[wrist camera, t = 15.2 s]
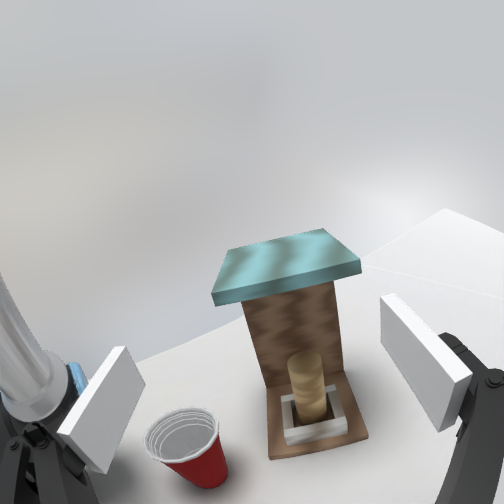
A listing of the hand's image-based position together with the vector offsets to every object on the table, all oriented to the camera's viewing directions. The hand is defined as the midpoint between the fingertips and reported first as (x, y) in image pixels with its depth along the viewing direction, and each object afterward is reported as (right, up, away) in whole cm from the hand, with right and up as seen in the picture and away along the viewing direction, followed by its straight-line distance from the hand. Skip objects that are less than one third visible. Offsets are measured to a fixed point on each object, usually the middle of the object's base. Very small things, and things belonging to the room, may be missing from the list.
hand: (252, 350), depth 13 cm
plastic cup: (-7, -29, +19) cm, 36 cm away
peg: (+10, -22, +25) cm, 35 cm away
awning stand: (+10, -22, +29) cm, 38 cm away
